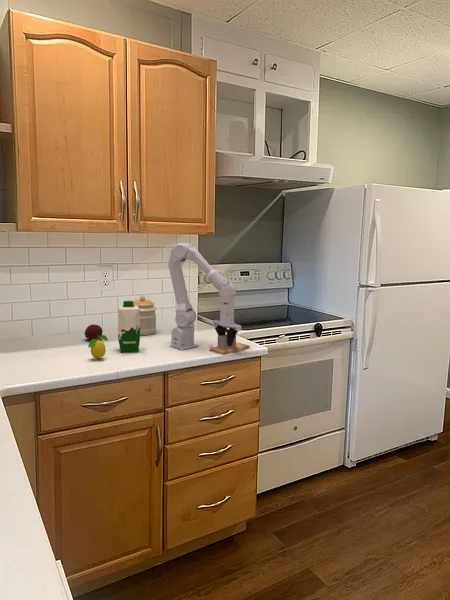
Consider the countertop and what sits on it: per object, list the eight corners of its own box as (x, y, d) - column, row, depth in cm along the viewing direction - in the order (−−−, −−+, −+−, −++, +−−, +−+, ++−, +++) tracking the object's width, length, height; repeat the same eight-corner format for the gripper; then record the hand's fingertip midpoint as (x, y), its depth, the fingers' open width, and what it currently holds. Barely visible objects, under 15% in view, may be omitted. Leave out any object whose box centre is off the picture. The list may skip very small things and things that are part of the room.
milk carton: (138, 347, 198) (138, 300, 195) (140, 352, 189) (140, 304, 186) (117, 347, 196) (117, 300, 192) (118, 353, 187) (118, 304, 184)
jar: (144, 337, 215) (144, 299, 212) (122, 333, 221) (122, 296, 219) (161, 332, 226) (162, 296, 223) (140, 328, 233) (140, 293, 230)
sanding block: (224, 349, 193) (224, 338, 192) (217, 347, 195) (217, 336, 195) (235, 347, 198) (236, 335, 197) (228, 345, 200) (229, 333, 200)
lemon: (108, 356, 182) (108, 331, 181) (106, 361, 177) (106, 335, 175) (90, 357, 181) (90, 331, 180) (88, 361, 176) (87, 335, 174)
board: (223, 354, 190) (223, 351, 190) (210, 350, 195) (210, 348, 195) (249, 348, 201) (249, 345, 201) (235, 344, 207) (236, 341, 207)
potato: (105, 340, 207) (105, 325, 206) (88, 343, 202) (88, 327, 201) (98, 337, 212) (98, 322, 211) (81, 339, 208) (81, 323, 207)
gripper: (246, 314, 192) (245, 346, 194) (221, 309, 202) (220, 339, 204) (235, 316, 187) (233, 349, 189) (209, 310, 197) (208, 342, 199)
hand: (226, 344), depth 196 cm, fingers closed on sanding block, 4 cm apart
